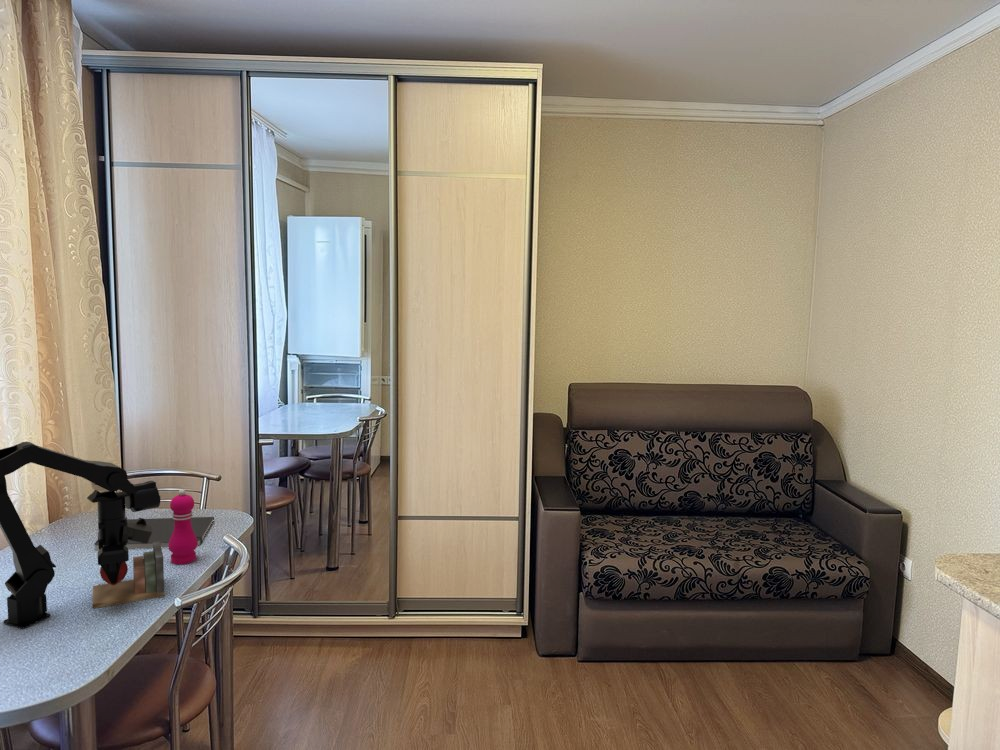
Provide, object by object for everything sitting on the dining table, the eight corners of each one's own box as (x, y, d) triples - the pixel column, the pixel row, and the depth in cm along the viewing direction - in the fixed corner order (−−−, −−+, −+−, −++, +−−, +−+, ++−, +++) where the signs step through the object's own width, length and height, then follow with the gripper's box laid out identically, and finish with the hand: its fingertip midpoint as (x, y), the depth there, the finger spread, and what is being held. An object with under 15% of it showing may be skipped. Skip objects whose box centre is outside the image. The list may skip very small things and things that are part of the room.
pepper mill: (186, 566, 185) (185, 494, 183) (163, 563, 186) (161, 491, 184) (203, 556, 192) (202, 486, 190) (180, 553, 193) (178, 484, 191)
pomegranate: (133, 583, 168) (132, 552, 167) (109, 592, 163) (108, 559, 162) (119, 578, 171) (118, 547, 170) (95, 586, 166) (94, 554, 165)
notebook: (214, 523, 220) (118, 526, 214) (214, 516, 220) (118, 519, 214) (199, 548, 199) (92, 552, 193) (199, 540, 199) (92, 544, 193)
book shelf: (92, 608, 160) (91, 567, 159) (93, 589, 170) (91, 550, 168) (164, 596, 168) (163, 556, 166) (160, 578, 177) (159, 541, 176)
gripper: (152, 523, 161) (153, 587, 162) (147, 501, 177) (148, 559, 178) (96, 530, 155) (98, 596, 157) (97, 506, 171) (99, 566, 173)
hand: (113, 578), depth 166 cm, fingers closed on pomegranate, 6 cm apart
